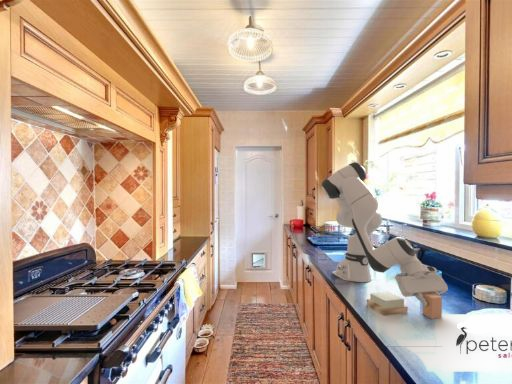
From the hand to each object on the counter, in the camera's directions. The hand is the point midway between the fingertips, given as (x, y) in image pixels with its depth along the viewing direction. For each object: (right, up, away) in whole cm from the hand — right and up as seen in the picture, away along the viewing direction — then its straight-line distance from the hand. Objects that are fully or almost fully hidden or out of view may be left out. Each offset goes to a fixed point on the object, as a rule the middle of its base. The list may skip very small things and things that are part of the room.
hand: (433, 304), depth 115 cm
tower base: (-15, -5, +7) cm, 18 cm away
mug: (+20, -5, +35) cm, 41 cm away
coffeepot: (+23, -5, +59) cm, 64 cm away
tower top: (-15, -2, +7) cm, 17 cm away
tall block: (0, -5, +1) cm, 5 cm away
